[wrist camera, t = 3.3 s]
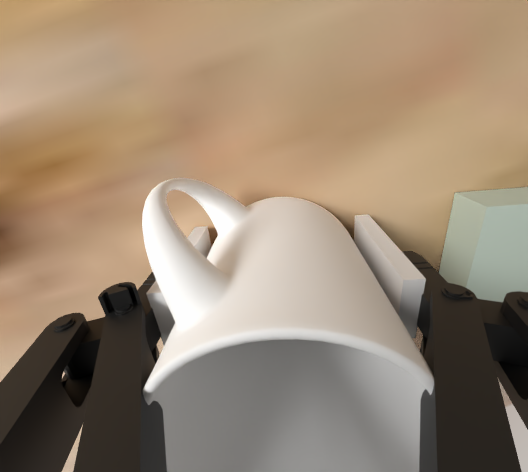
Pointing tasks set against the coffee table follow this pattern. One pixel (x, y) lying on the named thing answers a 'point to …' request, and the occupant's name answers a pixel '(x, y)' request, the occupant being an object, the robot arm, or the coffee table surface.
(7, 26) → the coffee table surface
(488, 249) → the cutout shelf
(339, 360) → the mug
